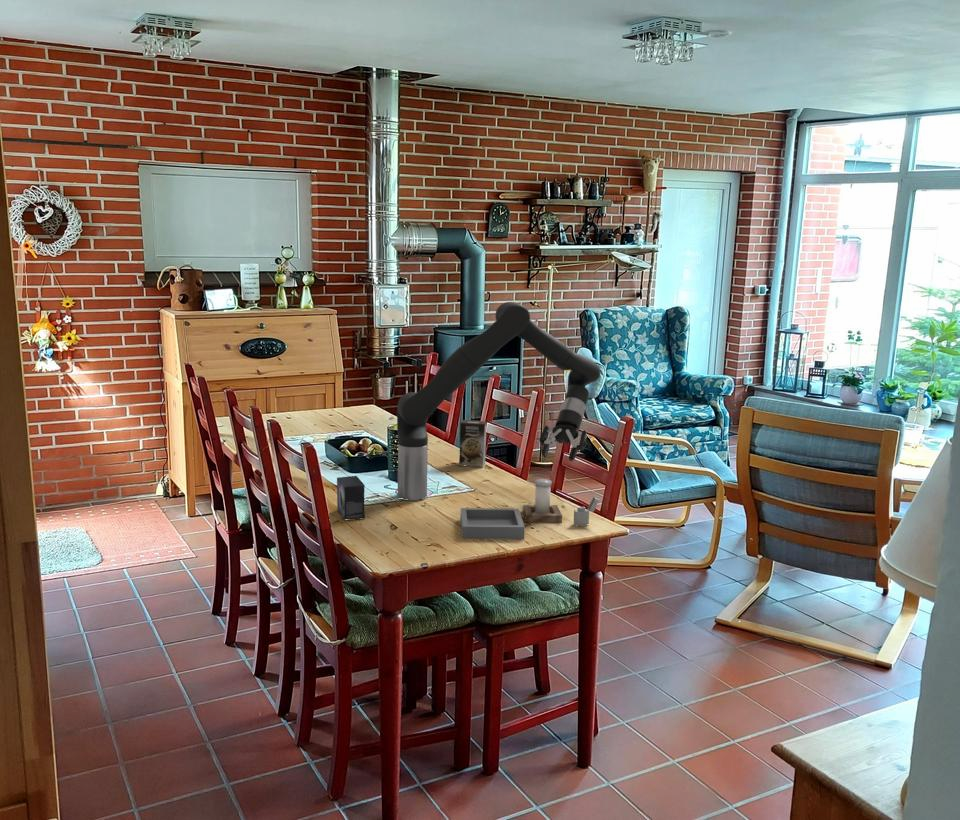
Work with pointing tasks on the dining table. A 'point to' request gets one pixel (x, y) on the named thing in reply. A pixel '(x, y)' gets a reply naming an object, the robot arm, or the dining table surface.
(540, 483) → the fuse
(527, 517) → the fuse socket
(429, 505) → the dining table surface
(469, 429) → the coffee box
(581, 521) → the lighter
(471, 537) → the parts tray
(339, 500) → the small box
